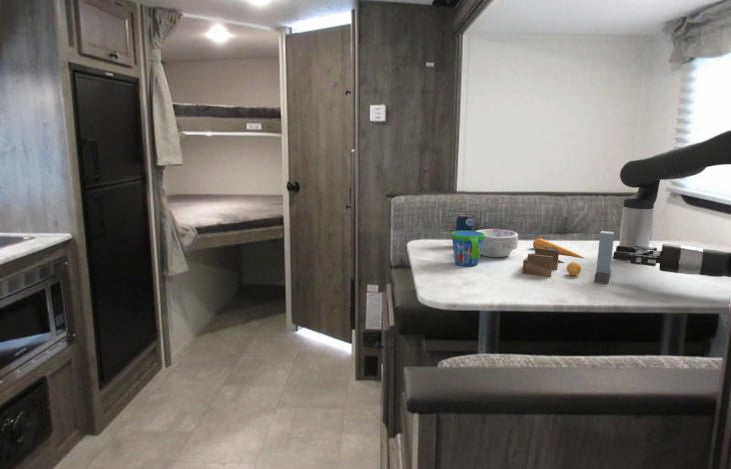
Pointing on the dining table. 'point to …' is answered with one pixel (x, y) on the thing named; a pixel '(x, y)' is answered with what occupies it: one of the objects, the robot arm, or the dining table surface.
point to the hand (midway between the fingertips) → (614, 252)
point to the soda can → (465, 222)
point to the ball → (573, 268)
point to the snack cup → (467, 247)
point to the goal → (541, 262)
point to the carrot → (543, 243)
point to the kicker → (604, 257)
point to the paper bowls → (498, 242)
